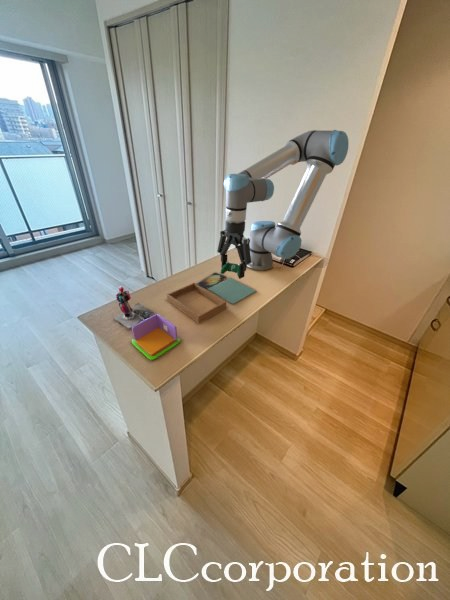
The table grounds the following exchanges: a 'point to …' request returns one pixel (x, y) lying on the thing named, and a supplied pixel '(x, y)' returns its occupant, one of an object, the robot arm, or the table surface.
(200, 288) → the box
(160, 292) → the table surface
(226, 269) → the gaming controller
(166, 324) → the miniature room corner
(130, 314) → the statue
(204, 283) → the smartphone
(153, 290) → the table surface
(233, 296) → the towel
